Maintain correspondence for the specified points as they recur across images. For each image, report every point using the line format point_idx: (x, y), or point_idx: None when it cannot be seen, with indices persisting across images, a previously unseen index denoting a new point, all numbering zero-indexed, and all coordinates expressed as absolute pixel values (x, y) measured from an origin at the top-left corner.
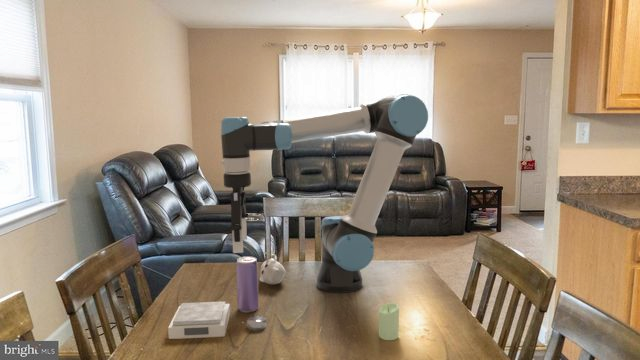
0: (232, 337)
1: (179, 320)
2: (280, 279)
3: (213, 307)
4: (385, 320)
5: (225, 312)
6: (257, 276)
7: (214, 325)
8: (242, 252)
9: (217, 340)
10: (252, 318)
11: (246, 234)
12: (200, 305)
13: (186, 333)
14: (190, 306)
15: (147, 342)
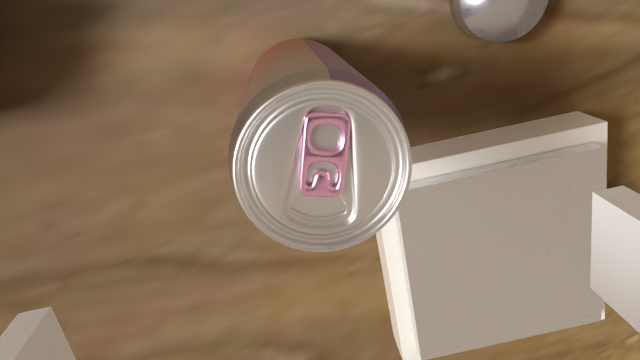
0: (587, 76)
1: (593, 302)
2: None
3: (469, 222)
4: None
5: (473, 159)
6: (308, 55)
7: (603, 161)
8: (627, 192)
9: None
10: (485, 21)
11: (17, 354)
12: (445, 283)
13: None
14: (457, 316)
15: (594, 343)
